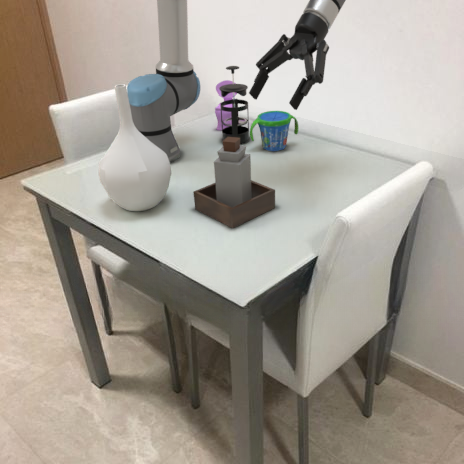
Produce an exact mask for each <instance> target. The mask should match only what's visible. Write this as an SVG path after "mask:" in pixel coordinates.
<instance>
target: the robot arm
mask: <svg viewBox="0 0 464 464" xmlns="http://www.w3.org/2000/svg"><path fill="white" fill-rule="evenodd" d="M345 2H346V0H308V2H307V4H306V6H305V7H304V10H303V13H302V14H301V15H300V17H299V18H298V20H297V23H296V24H295V26H294V33H293V35H292V36H291V37H288V36H287V34H285V33H283V34H282V35H281V36H280V38H279V39H278V41H277V42H276V43H275V44H274V45H273V46H272V47H271V48H270V49H268V51H267V52H266V53H265V54H264V55H263V56H262V57H261V58H260V59H259V60H258V61H256V63H255V66H256V68H258V70H259V71H258V73H257V74H256V76H255V78H254V80H253V84H252V86H251V88H250V90H249V92H248V94H249V95H250V96H251V98H253V100H256V101H257V100H258V98H259V96H260V94H261V93H262V91H263V89H264V87H265V85H266V83H267V81H268V80H269V78H270V76H269V74H270V73H272V72H273V71H275V70H276V69H277V68H279V67H280V66H282V65H283V64H285V63H286V62H287V61H291V60H293V59H294V60H300V61H304V69H305V76H304V77H302V78H301V81H300V82H299V84H298V86H297V87H296V89H295V91H294V93H293V95H292V96H291V98H290V100H289V102H288V103H289V105H290V106H291V108H293V110H295V111H297V110H298V109H299V107H300V105H301V103H302V101H303V99H305V97H307V96H308V94H309V92H310V91H311V89H312V87H313V86H314V85H315V84H319V85H321V84H322V83H324V77H325V68H326V61H327V59H326V58H327V54H328V52H329V49H330V46H329V45H328V43H327V41H326V40H325V39H326V37H327V35H328V34H329V30H330V29H331V27H332V26H333V24H334V22H335V20H336V18H337V17H338V15H339V14H340V11H341V10H342V8H343V6H344V4H345ZM156 6H157V7H156V8H157V24H158V25H157V26H158V42H159V45H158V46H159V60H158V61H157V63H156V64H155V73H147V74H144V75H140V76H139V75H138V76H136V77H134V78H133V79H131V80H130V81H129V82H128V84H127V85H126V89H127V94H128V99H129V104H130V109H131V115H132V121H133V123H134V125H135V127H136V128H137V130H138V131H139V132H140V133H141V134H142V135H144V136H145V137H146V138H147V139H148V140H149V141H150V142H152V143H153V144H154V145H156V146H157V147H158V148H160V149H161V150H162V151H164V152H165V153H166V154H167V157H168V159H169V162H170V163H173V162H175V161H177V160H178V159H179V158H180V157H181V148H180V146H179V144H178V140H177V139H176V137H175V135H174V132H173V130H172V121H171V117H172V116H174V115H176V114H177V113H180V112H182V111H185V110H187V109H189V108H190V107H191V106H192V105H194V104H195V103H196V102H197V101H198V99H199V97H200V94H201V81H200V78H199V77H198V76H197V73H196V72H195V70H194V65H193V64H192V62H191V61H190V60H189V27H188V26H189V23H188V21H189V20H188V19H189V17H188V16H189V15H188V0H156ZM315 52H316V55H315V63H314V56H313V54H314V53H315Z"/></svg>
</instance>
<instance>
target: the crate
mask: <svg viewBox="0 0 464 464" xmlns="http://www.w3.org/2000/svg"><path fill="white" fill-rule="evenodd" d="M251 195H252V199H250V200H248V201H245V202H243V203H241V204H239V205H237V206H235V207H230V206H227V205H225V204H223V203H221V202H219V201H217V197H216V183H215V182H213V183H211V184H208V185H206V186H204V187H201V188H199V189H196V190H193V202H194V210H196V211H198V212H199V213H201V214H204V215H206V216H207V217H209V218H211V219H213V220H215V221H217V222H218V223H219V222H220V223H221V224H223V225H225V226H227V227H229V228H231V229H235V228H237V227H239V226H241V225H243V224H244V223H247V222H249V221H251V220H254V219H255V218H257V217H259V216H261V215H263V214H265V213H267V212H270V211H272V210H274V209H275V208H276V189H275V188H272V187H270V186H267V185H264V184H261V183H259V182H257V181H254V180H252V179H251Z"/></svg>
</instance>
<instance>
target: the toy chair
mask: <svg viewBox="0 0 464 464" xmlns="http://www.w3.org/2000/svg"><path fill="white" fill-rule="evenodd" d="M228 84H233V80H228V79H227V80H222V81H220V82H218V83H217V84H215V85H216V86H215V91H216V93H217V95H218V96H219V97H221V98H222V99H223V102H224V101H227V100H232V99H233V92H232V93H229V94H228V95H226V96H225V97H222V96H221V91H220V89H219V88H220V87H221V86H224V85H228ZM234 84H237V83H236V82H234ZM237 94H238V93H235V92H234V96H235V97H236V95H237ZM221 103H222V102H219V104H218V105H217V106H216V107H215V108H214V114H215V117H216V120H217V126H216V128H215V130H216V131H222V123H223V122H221V106H220V104H221ZM224 107H231V108H232V104H228V105H225V106H224ZM230 117H231V112H227V111H223V110H222V121H223V120H224V119H226V118H230ZM226 127H229V126H225V125H223V129H224V128H226Z"/></svg>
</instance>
